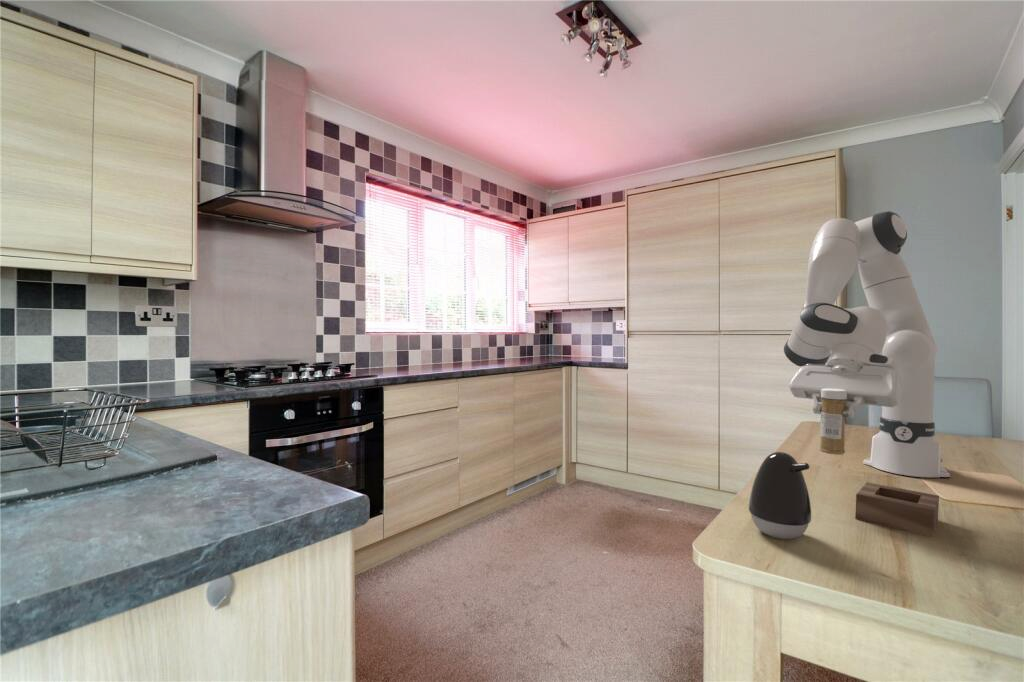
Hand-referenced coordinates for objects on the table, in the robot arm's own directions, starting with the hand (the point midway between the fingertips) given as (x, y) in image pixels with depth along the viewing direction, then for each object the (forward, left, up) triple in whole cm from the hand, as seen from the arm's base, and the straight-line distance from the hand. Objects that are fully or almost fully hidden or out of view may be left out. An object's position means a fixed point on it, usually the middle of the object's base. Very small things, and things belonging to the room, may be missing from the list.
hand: (832, 414), depth 104 cm
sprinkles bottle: (-1, 0, -8) cm, 8 cm away
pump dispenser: (+21, -4, -21) cm, 30 cm away
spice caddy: (-5, +11, -20) cm, 24 cm away
